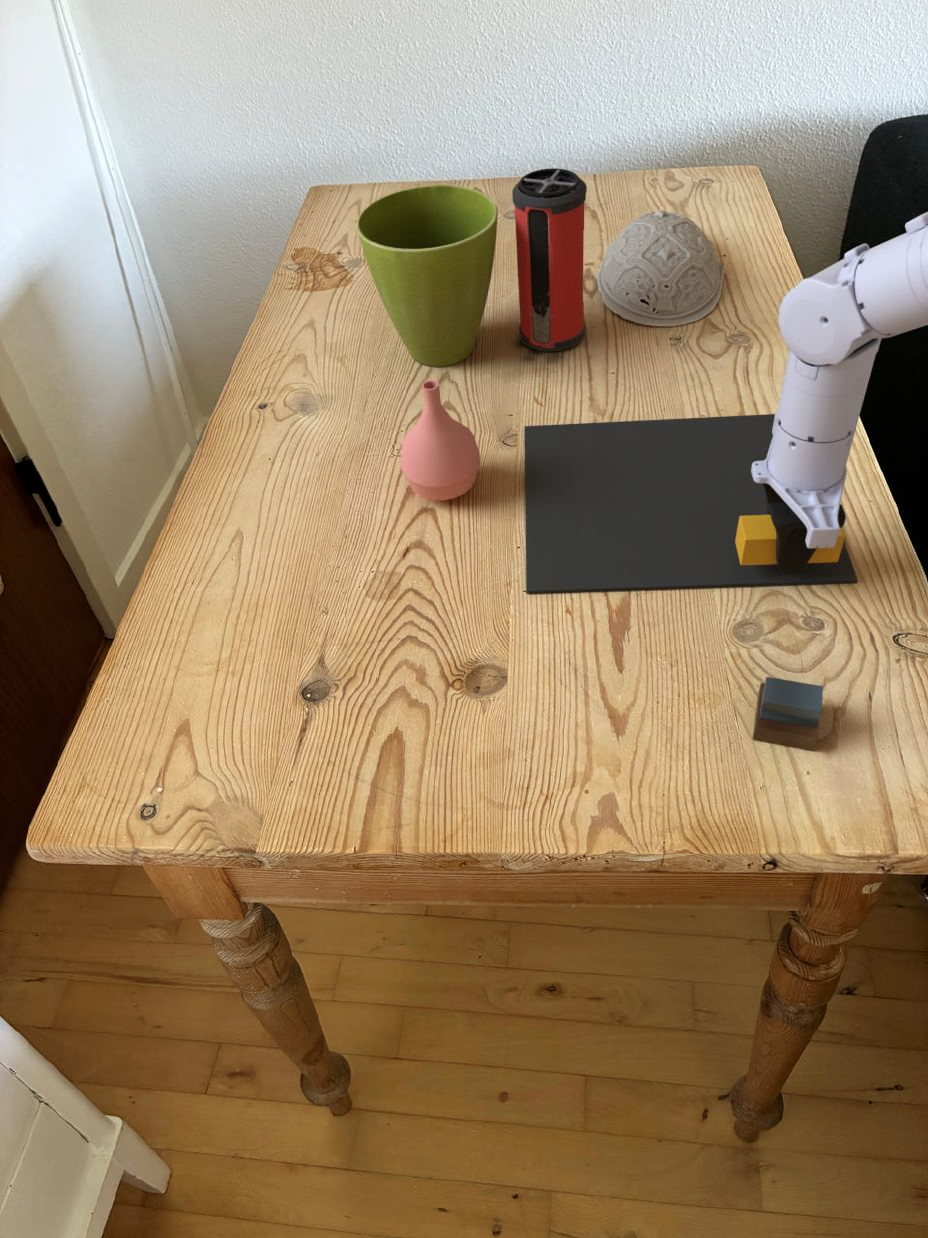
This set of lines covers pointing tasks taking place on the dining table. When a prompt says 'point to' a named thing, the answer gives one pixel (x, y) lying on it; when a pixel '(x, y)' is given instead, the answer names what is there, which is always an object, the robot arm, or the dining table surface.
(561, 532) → the mat
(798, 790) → the dining table surface
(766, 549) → the bar
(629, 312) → the carved stone dome
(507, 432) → the dining table surface
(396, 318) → the flower pot
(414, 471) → the pink bud vase
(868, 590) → the dining table surface
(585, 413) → the dining table surface
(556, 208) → the speaker
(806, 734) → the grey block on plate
